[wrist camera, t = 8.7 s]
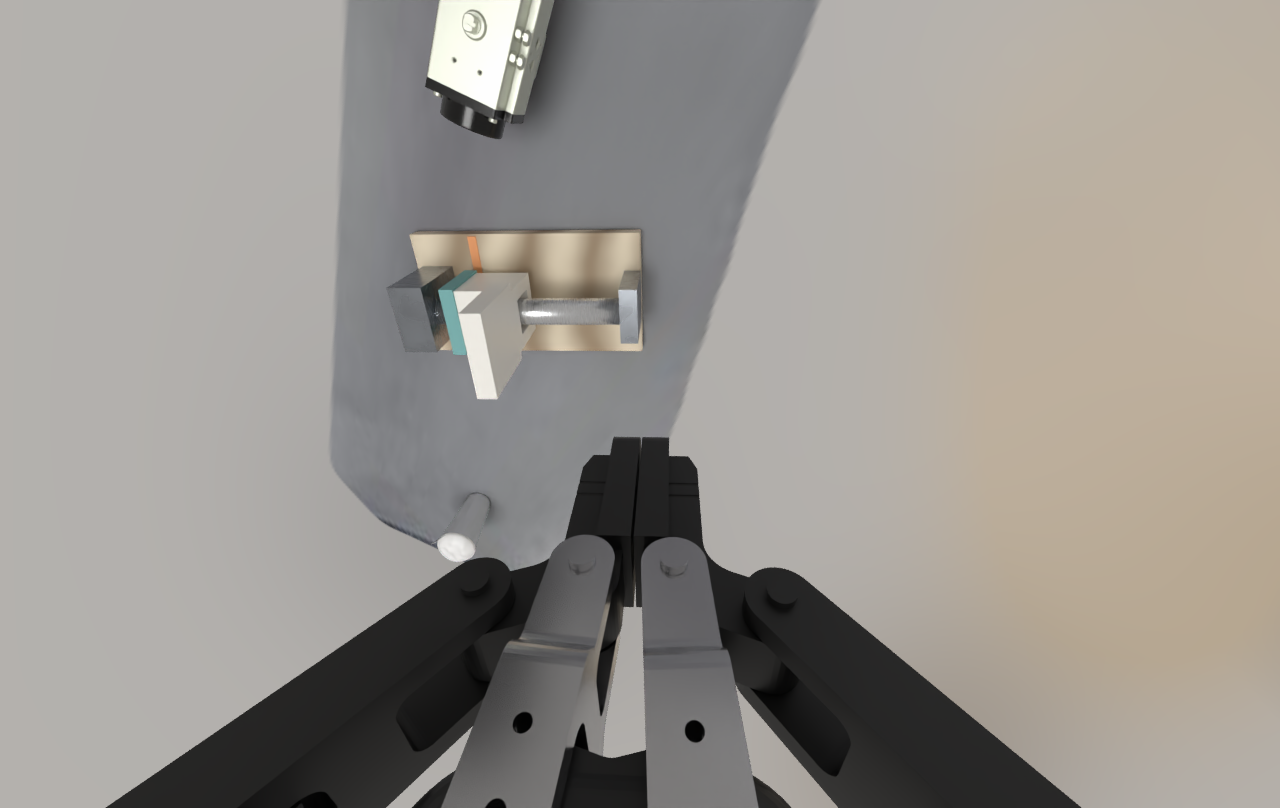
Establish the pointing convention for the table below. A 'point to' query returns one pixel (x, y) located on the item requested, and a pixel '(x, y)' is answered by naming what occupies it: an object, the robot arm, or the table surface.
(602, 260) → the pipe stand
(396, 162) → the table surface
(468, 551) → the milkshake
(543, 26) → the pneumatic valve
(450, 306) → the thin teal tile
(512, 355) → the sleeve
